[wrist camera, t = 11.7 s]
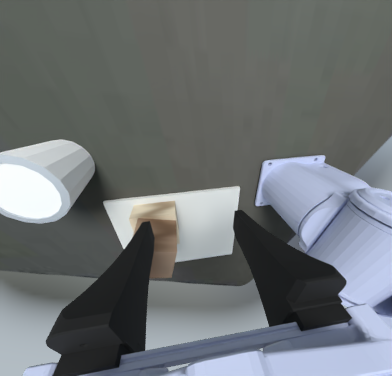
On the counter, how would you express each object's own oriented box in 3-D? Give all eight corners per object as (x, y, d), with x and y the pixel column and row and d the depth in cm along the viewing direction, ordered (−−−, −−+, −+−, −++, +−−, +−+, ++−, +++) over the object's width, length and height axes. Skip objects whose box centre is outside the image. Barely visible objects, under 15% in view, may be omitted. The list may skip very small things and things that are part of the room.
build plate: (238, 186, 24) (240, 188, 23) (231, 251, 32) (232, 254, 32) (104, 200, 22) (102, 203, 22) (133, 265, 30) (132, 269, 30)
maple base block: (174, 200, 23) (175, 213, 21) (179, 229, 26) (179, 243, 24) (133, 205, 23) (128, 219, 20) (143, 233, 26) (139, 248, 23)
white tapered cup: (92, 135, 18) (52, 156, 12) (106, 187, 21) (80, 223, 15) (23, 131, 17) (-61, 152, 11) (49, 186, 20) (-3, 225, 14)
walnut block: (176, 220, 21) (177, 252, 17) (171, 244, 24) (171, 277, 19) (138, 217, 20) (128, 250, 16) (137, 243, 23) (129, 278, 18)
